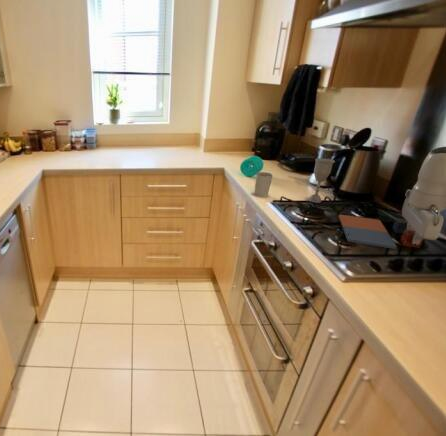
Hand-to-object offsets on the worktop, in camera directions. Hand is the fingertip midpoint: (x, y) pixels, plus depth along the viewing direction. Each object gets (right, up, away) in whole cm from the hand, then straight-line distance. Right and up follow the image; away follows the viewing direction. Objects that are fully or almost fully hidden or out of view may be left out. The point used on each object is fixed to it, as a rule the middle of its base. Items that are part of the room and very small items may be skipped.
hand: (411, 239), depth 103 cm
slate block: (+4, +2, +9) cm, 10 cm away
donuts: (-22, +31, +73) cm, 83 cm away
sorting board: (-8, +2, +9) cm, 13 cm away
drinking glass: (-29, +18, +44) cm, 56 cm away
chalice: (-9, +15, +37) cm, 41 cm away
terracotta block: (0, -1, +1) cm, 2 cm away
